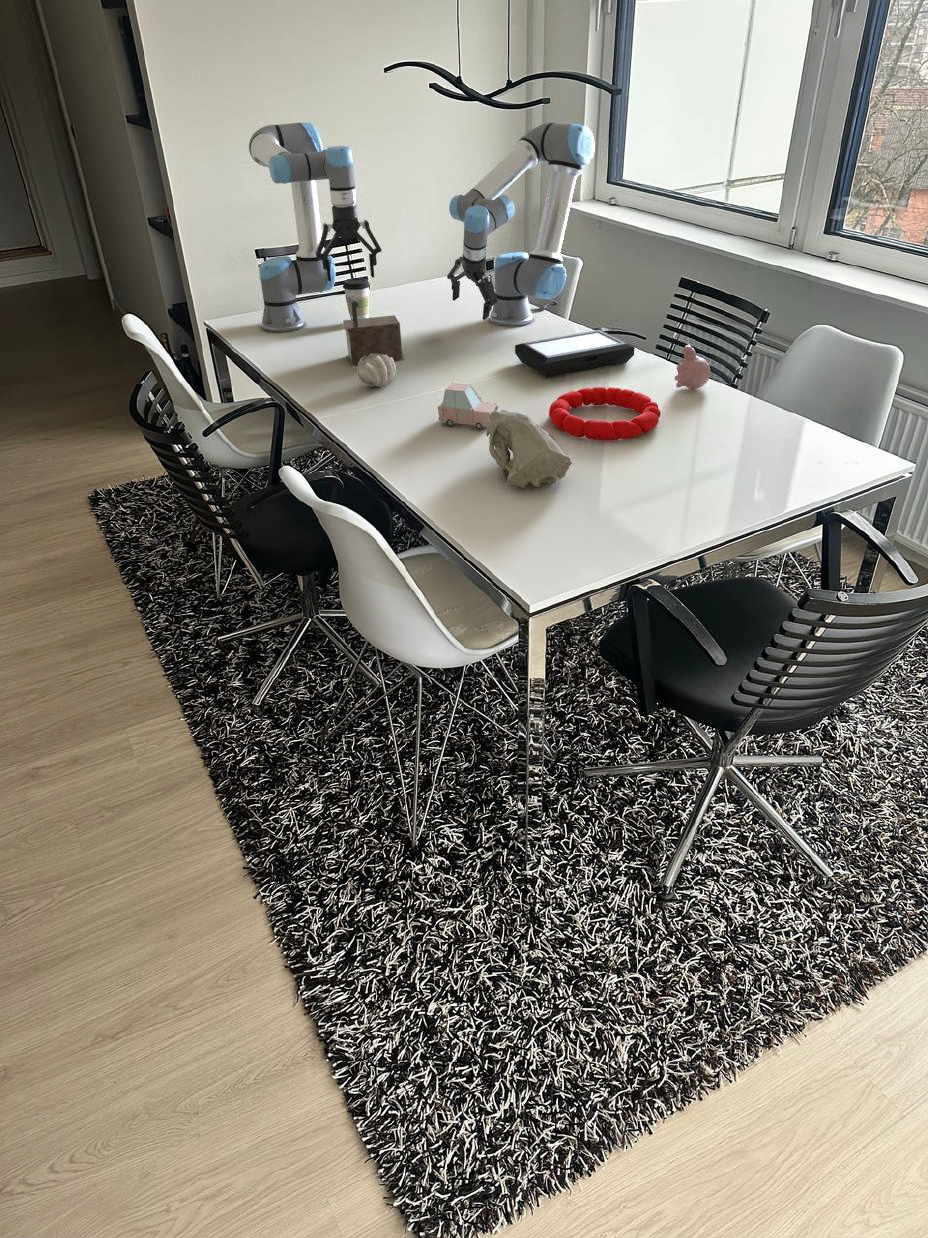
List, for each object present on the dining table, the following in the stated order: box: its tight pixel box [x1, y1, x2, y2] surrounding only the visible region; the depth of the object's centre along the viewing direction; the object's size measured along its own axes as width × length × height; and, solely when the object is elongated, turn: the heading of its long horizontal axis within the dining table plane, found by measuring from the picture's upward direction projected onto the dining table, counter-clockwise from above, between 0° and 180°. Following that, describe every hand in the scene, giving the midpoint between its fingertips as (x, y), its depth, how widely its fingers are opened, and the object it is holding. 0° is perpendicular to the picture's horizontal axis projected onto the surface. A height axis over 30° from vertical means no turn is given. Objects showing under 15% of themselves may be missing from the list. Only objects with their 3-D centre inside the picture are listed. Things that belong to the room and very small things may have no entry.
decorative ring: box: [548, 386, 661, 442], centre depth 242 cm, size 7×30×30 cm
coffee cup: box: [342, 277, 371, 320], centre depth 323 cm, size 10×10×15 cm
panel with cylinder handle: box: [343, 295, 401, 332], centre depth 286 cm, size 17×10×9 cm, turn 104°
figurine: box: [674, 344, 711, 390], centre depth 259 cm, size 9×11×12 cm
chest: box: [345, 325, 403, 366], centre depth 291 cm, size 17×10×11 cm, turn 104°
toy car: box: [437, 382, 499, 431], centre depth 243 cm, size 9×15×10 cm, turn 70°
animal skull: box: [485, 409, 573, 489], centre depth 216 cm, size 17×25×20 cm
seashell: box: [356, 353, 397, 388], centre depth 269 cm, size 10×15×10 cm
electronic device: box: [514, 329, 636, 379], centre depth 282 cm, size 32×6×20 cm
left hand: (351, 278), depth 279 cm, fingers open, 13 cm apart
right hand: (470, 307), depth 303 cm, fingers open, 13 cm apart
